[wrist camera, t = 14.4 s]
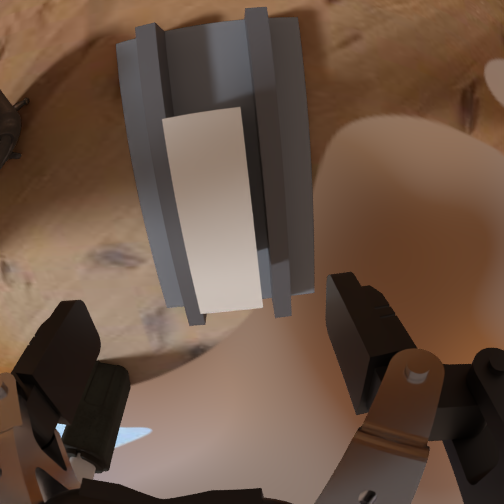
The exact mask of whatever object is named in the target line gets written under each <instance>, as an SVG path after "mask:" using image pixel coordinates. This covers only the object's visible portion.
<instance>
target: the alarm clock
mask: <svg viewBox="0 0 504 504" xmlns="http://www.w3.org/2000/svg"><path fill="white" fill-rule="evenodd" d="M28 103H29V99H28V98H24V100H23V101H21V102H18V103H16V104H15V105H14V106H12V104H11V103H10V102H9V101H8V99H7V98H6V97H5V95H4V94H3V93H2V91H1V90H0V169H1V168H2V166H3V165H4V163H5V162H6V161H7V160H8V159H19V158H20V157H21V154H20V153H14V152H13V149H14V147H15V145H16V143H17V141H18V138H19V135H20V131H21V118H20V115H19V113H18V112H17V111H18V110H19V109H20V108H21V107H22V106H23V105H26V104H28Z"/></svg>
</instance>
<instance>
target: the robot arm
mask: <svg viewBox="0 0 504 504" xmlns="http://www.w3.org/2000/svg"><path fill="white" fill-rule="evenodd" d="M326 326H327V331H328V334H329V338H330V340H331V343H332V346H333V349H334V351H335V354H336V357H337V360H338V363H339V366H340V368H341V371H342V374H343V377H344V379H345V383H346V386H347V388H348V392H349V394H350V398H351V400H352V403H353V406H354V409H355V412H356V415H359V414H364V413H368V414H367V416H366V418H365V421H364V422H363V424H362V426H361V427H359V429H358V430H357V432H356V433H355V435H354V437H353V439H352V441H351V443H350V444H349V446H348V448H347V450H346V452H345V453H344V456H343V457H342V459H341V461H340V463H339V464H338V466H337V468H336V470H335V471H334V473H333V475H332V476H331V478H330V480H329V481H328V483H327V484H326V486H325V488H324V489H323V491H322V493H321V494H320V496H319V497H318V499H317V500H316V502H315V503H314V504H411V502H412V500H413V498H414V495H415V493H416V490H417V488H418V485H419V482H420V479H421V477H422V474H423V471H424V468H425V466H426V463H427V460H428V456H429V451H430V448H429V446H427V443H428V441H439V440H442V441H443V444H444V447H445V449H446V452H447V455H448V457H449V460H450V463H451V466H452V468H453V471H454V474H455V477H456V480H457V483H458V486H459V489H460V492H461V496H462V498H463V502H464V504H504V350H501V349H498V348H486V349H483V350H481V351H480V352H478V353H477V354H476V356H475V358H474V360H473V362H472V364H455V365H454V364H452V365H448V364H442V362H441V361H440V359H439V358H438V357H437V356H435V355H434V354H432V353H431V352H429V351H426V350H423V349H417V347H416V345H415V344H414V342H413V341H412V339H411V337H410V336H409V334H408V333H407V331H406V329H405V328H404V326H403V325H402V323H401V322H400V320H399V318H398V317H397V316H395V312H394V311H393V309H392V308H391V307H390V306H389V303H388V302H387V300H386V299H385V297H384V296H383V294H382V293H380V292H379V291H377V290H376V289H374V288H373V287H371V286H362V287H361V285H360V283H359V282H358V280H357V279H356V277H355V275H354V274H353V273H352V272H346V273H339V274H331V275H328V276H327V288H326ZM29 344H30V345H28V346H27V348H26V349H25V351H24V352H23V354H22V356H21V357H20V359H19V361H18V362H17V364H16V366H15V367H14V369H13V371H12V372H11V374H10V373H1V374H0V504H292V503H289V502H286V501H281V500H277V499H271V498H264V496H263V493H262V489H261V488H256V489H241V490H212V491H207V492H202V493H198V494H193V495H187V496H182V497H176V498H170V499H159V498H155V497H153V496H150V495H147V494H144V493H141V492H138V491H135V490H133V489H131V488H128V487H125V486H123V485H120V484H115V483H109V482H103V481H97V480H92V479H87V478H82V482H81V483H80V482H79V480H78V479H77V477H76V475H75V473H74V470H73V468H72V466H71V463H70V461H69V458H68V455H67V453H66V450H65V447H64V445H63V442H62V439H61V436H60V434H59V432H58V431H57V430H56V429H55V428H56V426H57V423H59V424H65V425H71V424H72V422H73V419H74V416H75V413H76V410H77V408H78V405H79V402H80V400H81V397H82V395H83V392H84V389H85V387H86V384H87V382H88V379H89V377H90V374H91V372H92V369H93V367H94V365H95V362H96V360H97V357H98V355H99V353H100V348H101V342H100V337H99V334H98V332H97V330H96V328H95V326H94V323H93V321H92V319H91V317H90V315H89V312H88V310H87V308H86V305H85V304H84V302H83V301H81V300H70V301H61V302H60V303H59V304H58V306H57V307H56V309H55V310H54V312H53V313H52V315H51V316H50V318H48V319H47V320H46V321H45V322H44V323H43V324H42V325H41V326H40V327H39V329H38V330H37V332H36V334H35V337H33V338H32V340H31V341H30V343H29Z"/></svg>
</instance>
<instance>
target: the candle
mask: <svg viewBox="0 0 504 504" xmlns="http://www.w3.org/2000/svg"><path fill="white" fill-rule="evenodd" d="M129 391H130V381H129V375H128V371H127V370H126V369H125V368H123V367H122V366H119V365H117V366H114V365H109V364H105V363H100V362H99V361H96V362H95V365H94V367H93V369H92V372H91V374H90V377H89V379H88V382H87V384H86V387H85V389H84V392H83V395H82V397H81V400H80V402H79V405H78V408H77V410H76V413H75V416H74V419H73V422H72V424H71V425H66V427H65V430H64V433H63V435H62V438H61V439H62V442H63V445H64V447H65V450H66V453H67V455H68V458H69V461H70V463H71V466H72V468H73V470H74V473H75V475H76V477H77V479H78V480H79V482H80V483H81V482H82V478H87V479H92V480H93V477H94V473H102V472H103V471H108V470H109V468H110V463H111V459H112V455H113V451H114V447H115V443H116V439H117V435H118V431H119V428H120V423H121V420H122V416H123V413H124V409H125V405H126V402H127V398H128V394H129Z"/></svg>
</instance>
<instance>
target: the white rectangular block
mask: <svg viewBox="0 0 504 504" xmlns="http://www.w3.org/2000/svg"><path fill="white" fill-rule="evenodd" d="M162 123H163V129H164V136H165V142H166V148H167V154H168V160H169V166H170V172H171V177H172V183H173V188H174V194H175V199H176V204H177V210H178V215H179V220H180V225H181V229H182V234H183V239H184V244H185V248H186V253H187V258H188V262H189V267H190V271H191V276H192V280H193V284H194V288H195V293H196V297H197V301H198V305H199V309H200V313H201V314H206V313H216V312H227V311H237V310H246V309H255V308H263V303H262V294H261V285H260V276H259V267H258V258H257V249H256V240H255V231H254V222H253V213H252V204H251V195H250V186H249V177H248V169H247V160H246V151H245V142H244V134H243V125H242V116H241V108H240V107H234V108H226V109H219V110H211V111H205V112H198V113H192V114H186V115H181V116H175V117H170V118H165V119H162Z"/></svg>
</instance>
